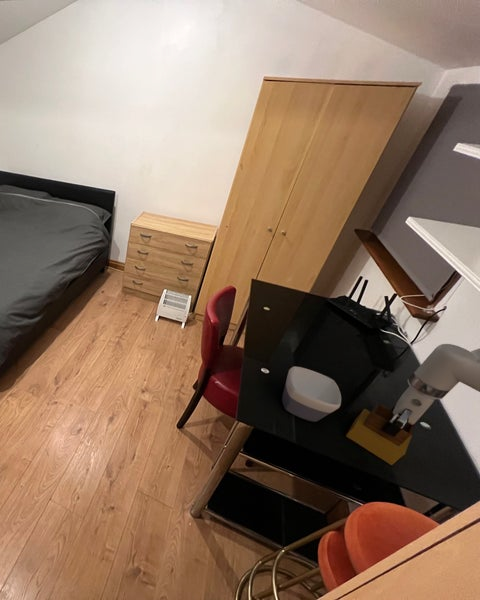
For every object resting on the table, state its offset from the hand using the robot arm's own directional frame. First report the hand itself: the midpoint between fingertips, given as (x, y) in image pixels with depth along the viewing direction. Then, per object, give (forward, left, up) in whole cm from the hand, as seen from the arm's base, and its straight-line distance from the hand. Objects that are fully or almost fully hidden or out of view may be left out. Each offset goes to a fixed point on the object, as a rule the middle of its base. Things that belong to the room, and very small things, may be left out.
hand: (391, 424), depth 97 cm
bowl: (+20, +5, -9) cm, 23 cm away
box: (0, 0, -9) cm, 9 cm away
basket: (+1, 0, -3) cm, 3 cm away
